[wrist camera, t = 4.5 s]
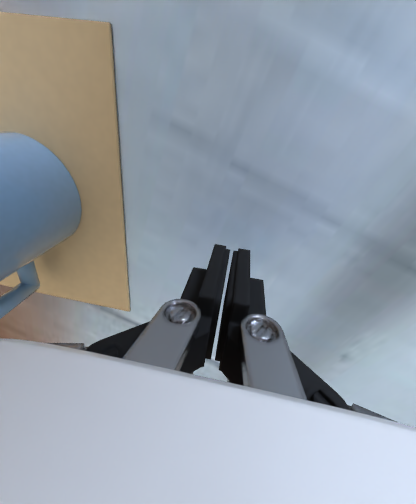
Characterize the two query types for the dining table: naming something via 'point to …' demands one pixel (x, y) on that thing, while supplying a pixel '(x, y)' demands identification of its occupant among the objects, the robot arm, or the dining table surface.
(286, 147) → the dining table surface
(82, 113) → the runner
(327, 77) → the dining table surface
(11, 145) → the mug
